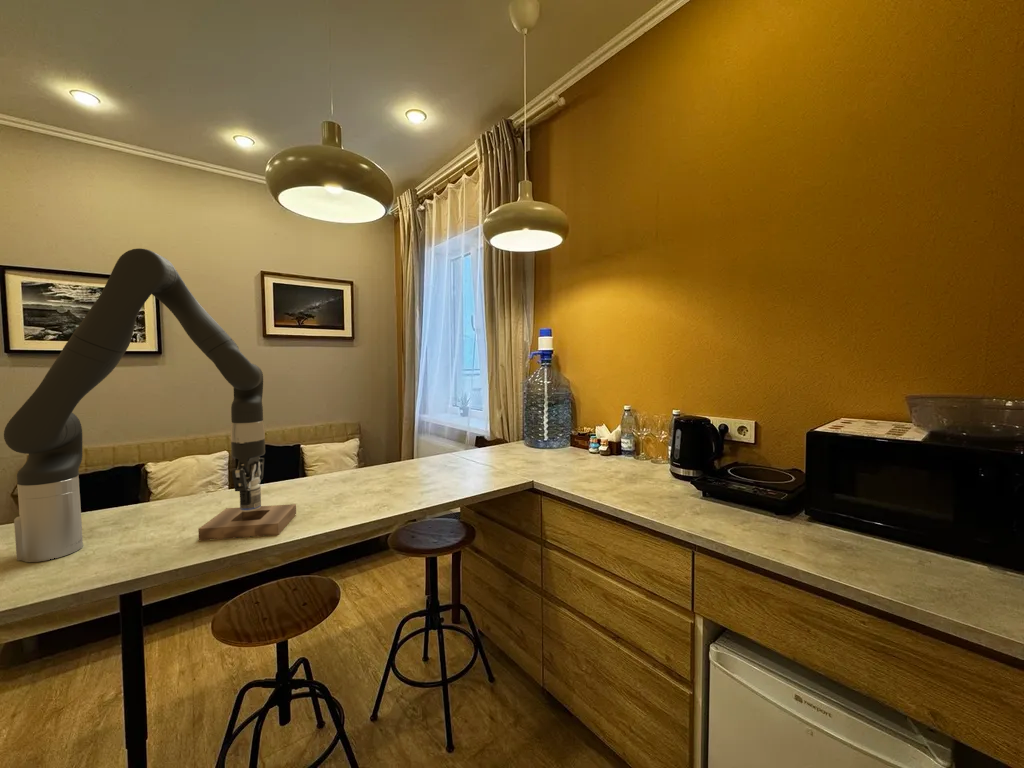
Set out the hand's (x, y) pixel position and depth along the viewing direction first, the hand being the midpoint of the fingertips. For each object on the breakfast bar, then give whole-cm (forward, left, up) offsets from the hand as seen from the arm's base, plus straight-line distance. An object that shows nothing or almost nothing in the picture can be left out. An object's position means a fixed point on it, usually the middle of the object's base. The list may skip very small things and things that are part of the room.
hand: (250, 500), depth 108 cm
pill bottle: (0, 0, -2) cm, 2 cm away
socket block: (0, 0, -7) cm, 7 cm away
